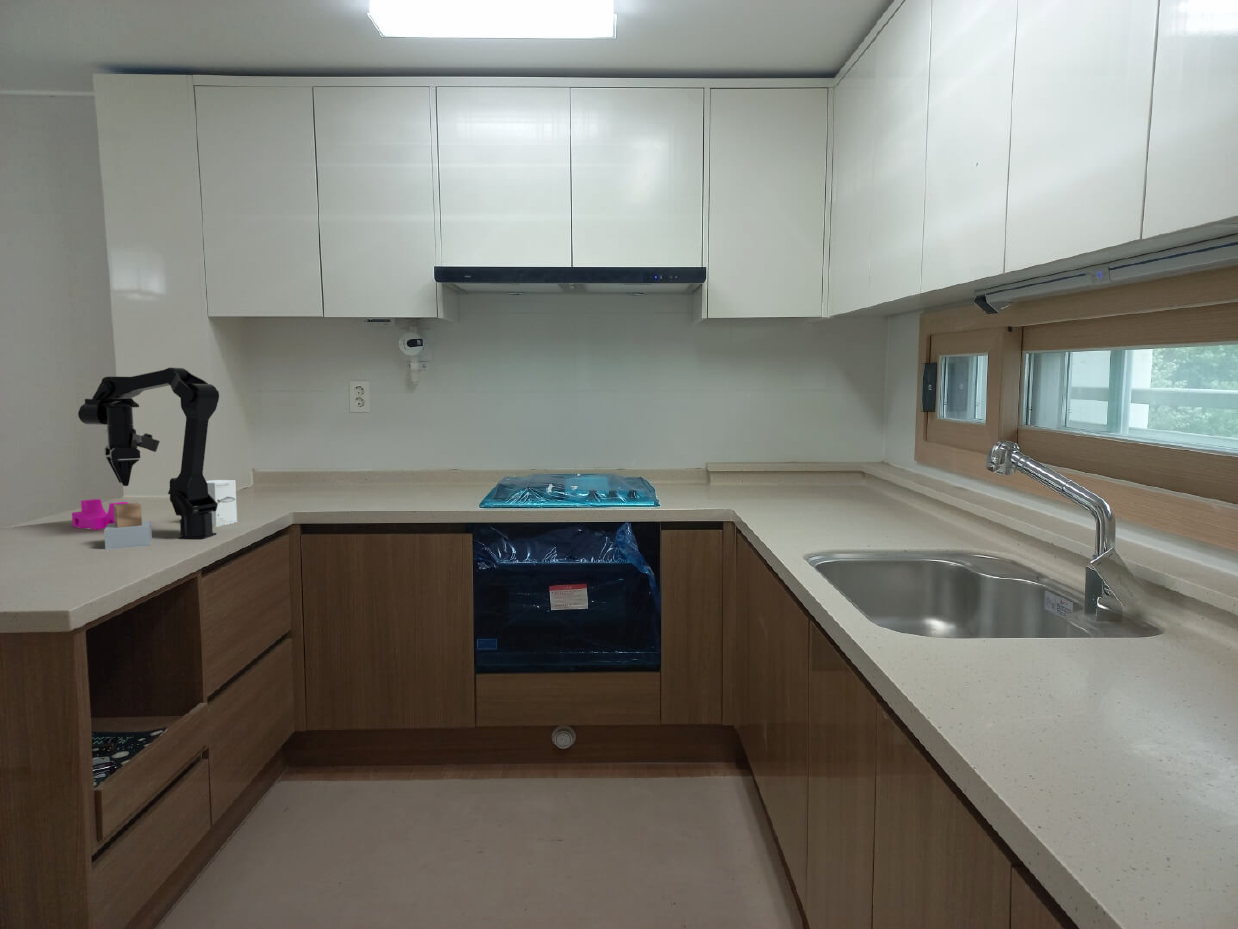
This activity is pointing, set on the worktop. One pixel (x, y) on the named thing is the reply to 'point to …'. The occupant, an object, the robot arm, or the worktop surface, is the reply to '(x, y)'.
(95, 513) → the toy block
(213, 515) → the supplement box
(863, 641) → the worktop surface
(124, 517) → the walnut cube
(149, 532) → the slate base block
